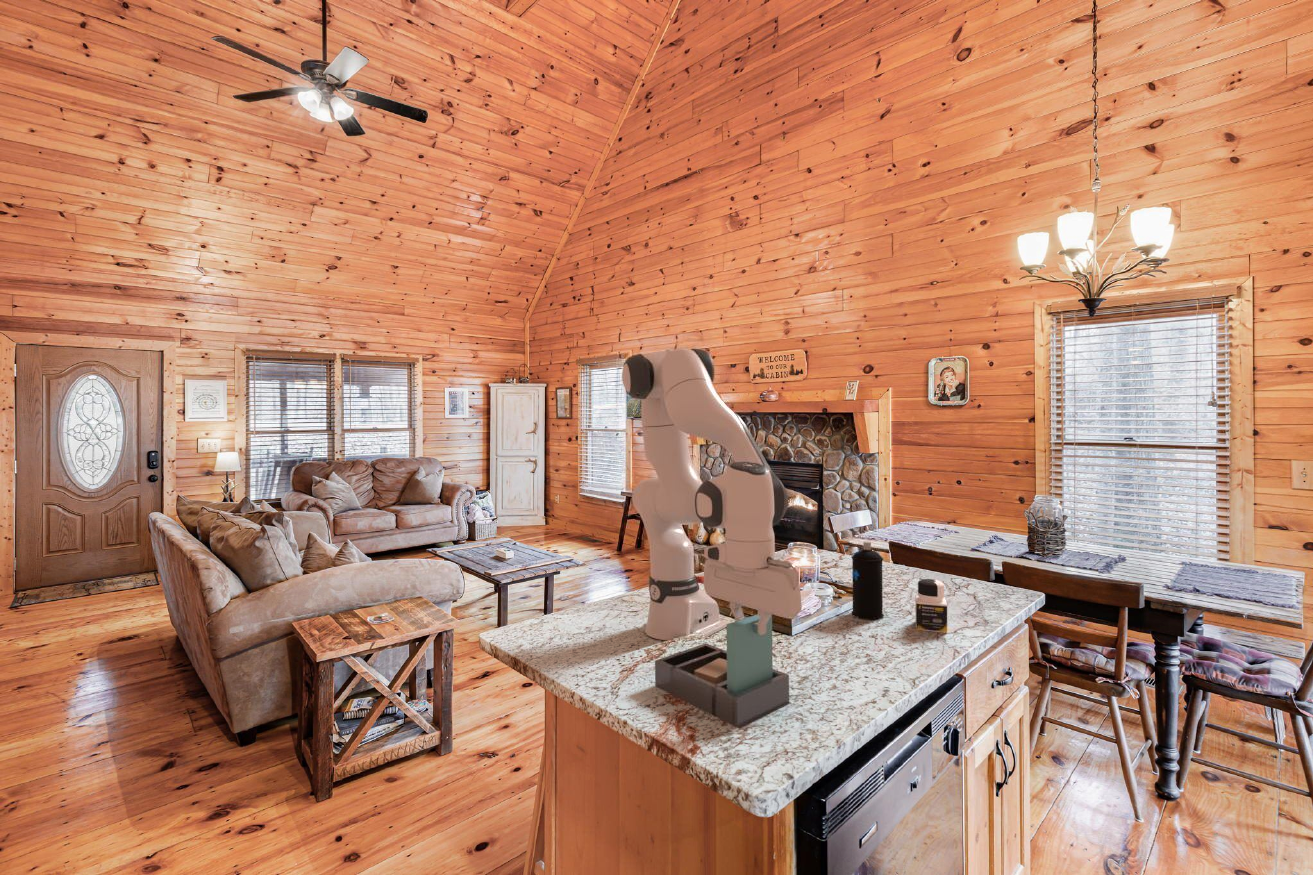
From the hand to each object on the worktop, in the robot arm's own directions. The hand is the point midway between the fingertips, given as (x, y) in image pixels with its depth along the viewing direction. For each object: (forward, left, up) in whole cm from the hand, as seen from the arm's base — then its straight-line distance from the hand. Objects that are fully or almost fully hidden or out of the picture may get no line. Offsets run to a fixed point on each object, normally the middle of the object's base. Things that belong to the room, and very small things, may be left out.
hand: (750, 630), depth 107 cm
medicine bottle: (-70, 0, -16) cm, 72 cm away
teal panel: (0, 0, -14) cm, 14 cm away
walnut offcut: (0, -8, -12) cm, 14 cm away
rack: (0, -6, -16) cm, 17 cm away
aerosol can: (-67, -16, -16) cm, 71 cm away
